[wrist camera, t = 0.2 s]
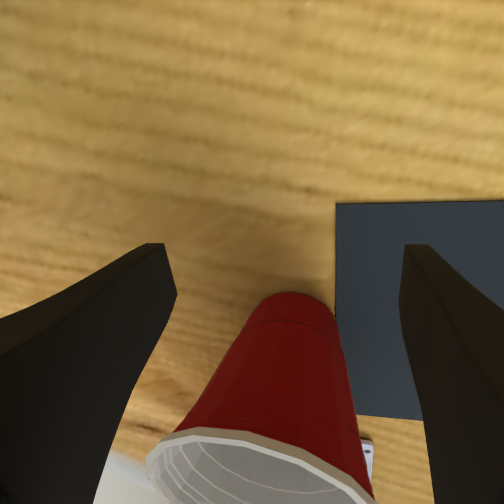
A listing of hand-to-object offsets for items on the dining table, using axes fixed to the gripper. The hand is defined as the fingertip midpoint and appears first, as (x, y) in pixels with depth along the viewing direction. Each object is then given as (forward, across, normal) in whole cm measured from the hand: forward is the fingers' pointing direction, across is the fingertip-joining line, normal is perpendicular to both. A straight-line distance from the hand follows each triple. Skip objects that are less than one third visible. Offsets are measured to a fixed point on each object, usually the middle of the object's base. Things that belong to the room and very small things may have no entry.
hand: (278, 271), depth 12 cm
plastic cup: (+10, +1, +12) cm, 16 cm away
